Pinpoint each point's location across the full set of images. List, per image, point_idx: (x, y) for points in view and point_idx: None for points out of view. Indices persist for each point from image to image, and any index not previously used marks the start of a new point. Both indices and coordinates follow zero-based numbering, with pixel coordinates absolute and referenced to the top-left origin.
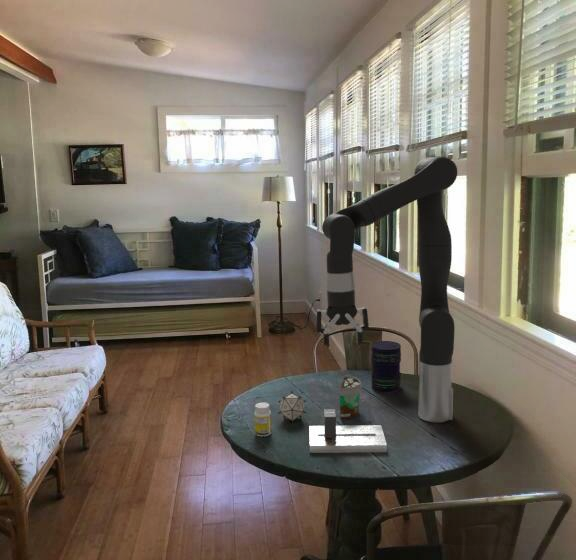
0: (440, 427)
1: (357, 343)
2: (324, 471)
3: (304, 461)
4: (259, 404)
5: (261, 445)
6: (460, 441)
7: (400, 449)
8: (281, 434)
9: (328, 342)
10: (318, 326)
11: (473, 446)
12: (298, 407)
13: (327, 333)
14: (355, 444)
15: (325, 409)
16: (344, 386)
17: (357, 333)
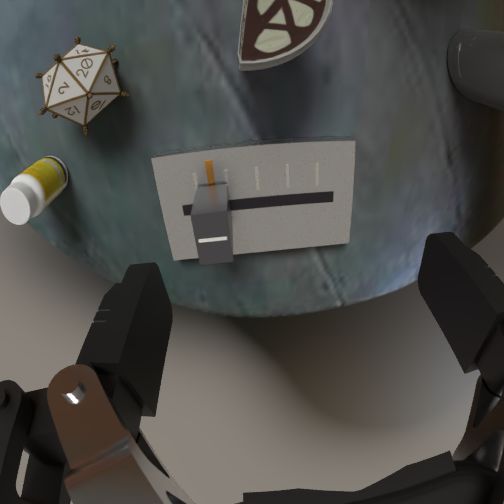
0: (471, 122)
1: (425, 277)
2: (216, 307)
3: (173, 281)
4: (7, 203)
5: (70, 230)
6: (479, 186)
7: (373, 220)
8: (90, 172)
9: (162, 348)
10: (49, 487)
11: (486, 205)
12: (99, 105)
13: (136, 415)
14: (279, 246)
15: (195, 216)
16: (259, 17)
17: (462, 367)
